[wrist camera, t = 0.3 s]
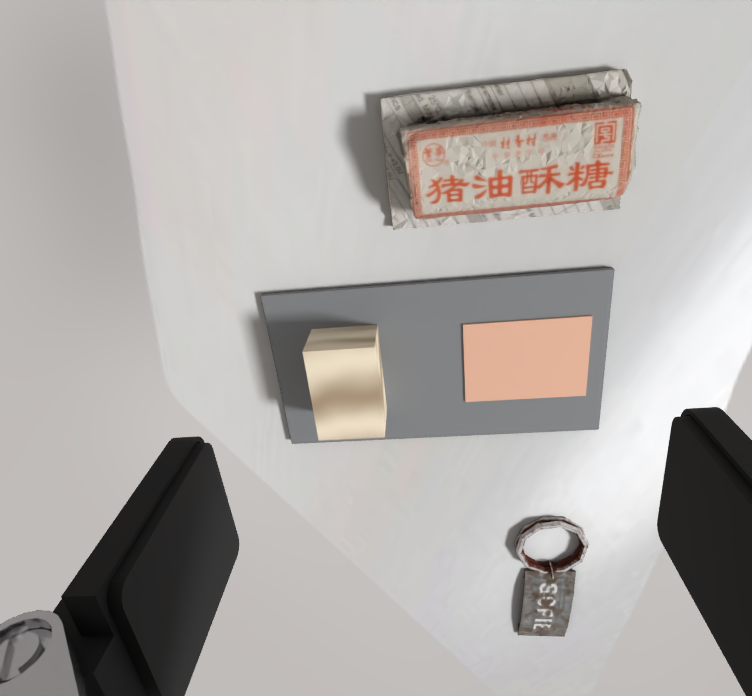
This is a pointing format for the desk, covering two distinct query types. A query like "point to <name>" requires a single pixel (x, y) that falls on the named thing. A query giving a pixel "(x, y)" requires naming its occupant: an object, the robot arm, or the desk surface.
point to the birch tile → (346, 382)
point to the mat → (461, 351)
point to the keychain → (548, 582)
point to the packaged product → (510, 149)
